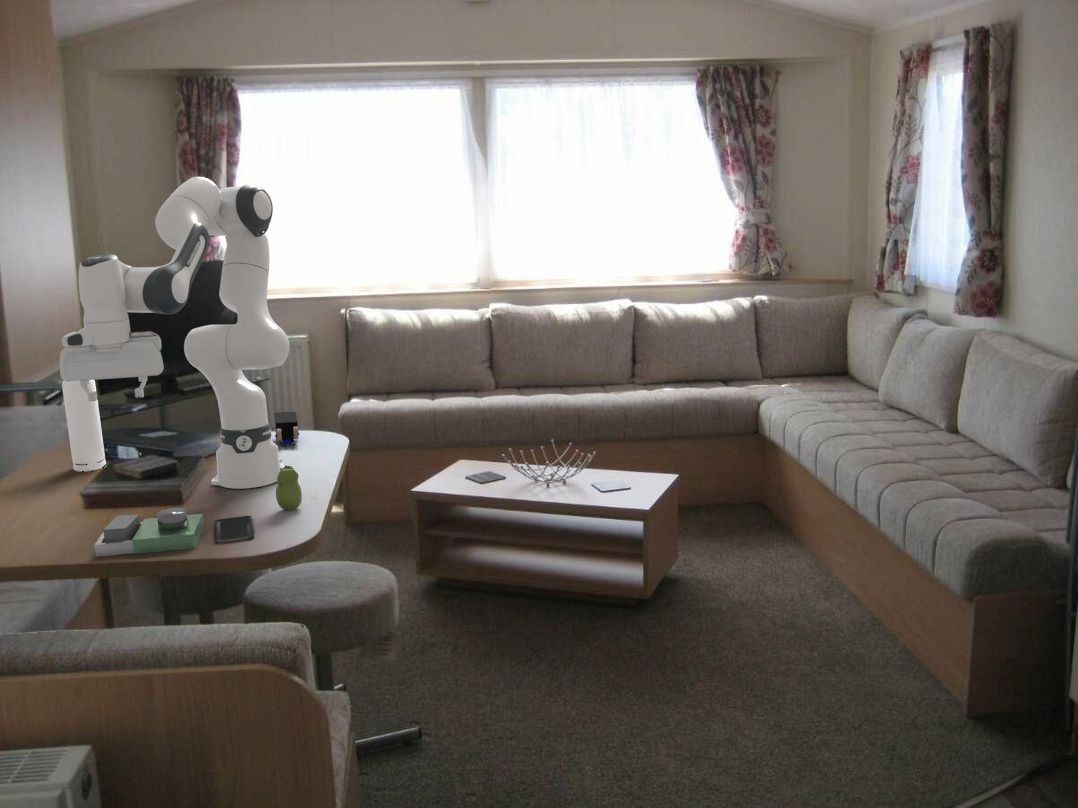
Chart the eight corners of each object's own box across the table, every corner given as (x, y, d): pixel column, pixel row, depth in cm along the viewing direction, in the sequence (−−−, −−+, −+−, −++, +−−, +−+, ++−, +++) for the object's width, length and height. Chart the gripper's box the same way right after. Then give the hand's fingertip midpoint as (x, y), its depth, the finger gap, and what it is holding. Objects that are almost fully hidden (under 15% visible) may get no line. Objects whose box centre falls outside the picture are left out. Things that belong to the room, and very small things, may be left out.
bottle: (70, 467, 297) (56, 363, 291) (102, 461, 301) (88, 359, 295) (77, 473, 290) (62, 367, 284) (109, 467, 295) (95, 363, 289)
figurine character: (302, 451, 309) (298, 433, 322) (300, 425, 306) (295, 408, 320) (277, 454, 307) (274, 435, 321) (274, 427, 304) (271, 410, 318)
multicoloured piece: (109, 535, 239) (106, 508, 237) (203, 526, 242) (200, 500, 240) (95, 557, 225) (91, 529, 224) (195, 548, 228) (191, 520, 227)
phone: (215, 541, 230) (215, 519, 244) (215, 546, 230) (215, 524, 244) (254, 535, 232) (252, 514, 246) (255, 541, 232) (252, 519, 246)
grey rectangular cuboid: (120, 538, 237) (117, 515, 236) (141, 537, 237) (139, 514, 236) (106, 552, 228) (103, 529, 227) (128, 551, 228) (125, 528, 227)
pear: (300, 504, 254) (296, 461, 252) (305, 510, 250) (301, 467, 248) (275, 508, 252) (271, 465, 250) (280, 515, 247) (275, 471, 245)
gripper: (162, 328, 237) (170, 392, 240) (61, 335, 234) (70, 399, 237) (157, 332, 230) (165, 398, 233) (53, 339, 227) (62, 405, 230)
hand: (116, 399), depth 235 cm, fingers open, 8 cm apart
